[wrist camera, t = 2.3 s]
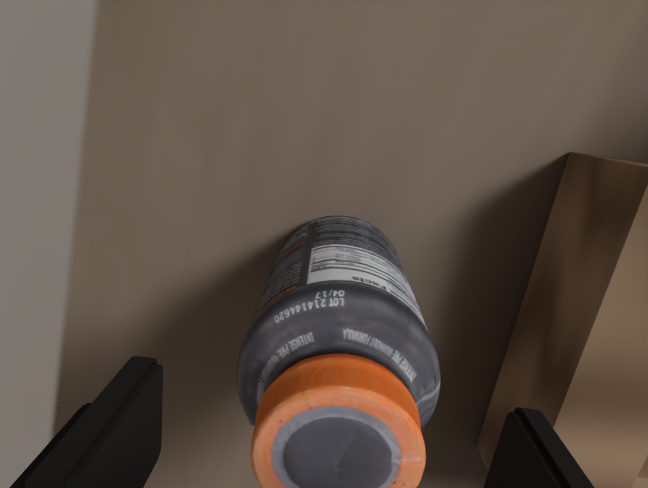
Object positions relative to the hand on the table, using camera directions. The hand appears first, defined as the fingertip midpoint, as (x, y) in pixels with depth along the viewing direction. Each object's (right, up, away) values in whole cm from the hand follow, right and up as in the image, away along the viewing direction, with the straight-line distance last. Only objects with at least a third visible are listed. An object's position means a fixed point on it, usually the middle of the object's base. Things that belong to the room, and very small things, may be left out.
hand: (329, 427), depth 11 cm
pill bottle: (+1, +4, +9) cm, 10 cm away
